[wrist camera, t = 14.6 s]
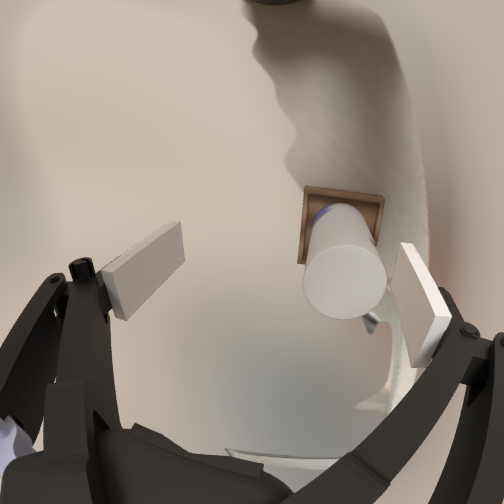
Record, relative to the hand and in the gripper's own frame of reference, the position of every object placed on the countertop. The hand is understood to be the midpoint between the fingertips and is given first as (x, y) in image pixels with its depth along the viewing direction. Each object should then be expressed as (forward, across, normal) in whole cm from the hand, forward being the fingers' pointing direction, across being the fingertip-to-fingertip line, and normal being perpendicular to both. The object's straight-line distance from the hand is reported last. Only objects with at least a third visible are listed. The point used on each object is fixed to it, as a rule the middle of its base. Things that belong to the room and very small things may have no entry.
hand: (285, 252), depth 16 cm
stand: (+34, +5, -11) cm, 36 cm away
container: (+34, +5, -10) cm, 36 cm away
